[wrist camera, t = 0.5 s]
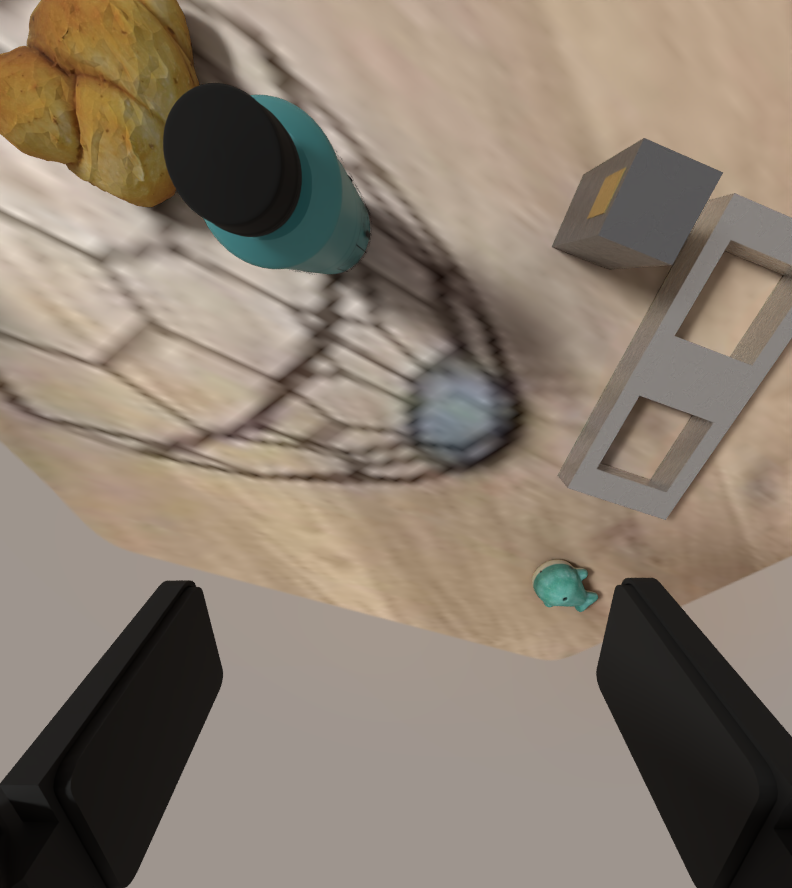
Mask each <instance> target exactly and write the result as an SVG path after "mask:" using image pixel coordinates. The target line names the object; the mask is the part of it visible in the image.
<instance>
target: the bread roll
mask: <svg viewBox="0 0 792 888" xmlns="http://www.w3.org/2000/svg"><path fill="white" fill-rule="evenodd" d="M197 86H199V81H198V79H197V76H196V73H195V69H194V61H193V53H192V44H191V40H190V35H189V30H188V27H187V24H186V19H185V16H184V14H183V12H182V10H181V8H180V6H179V4H178V2H177V1H176V0H41V1H40V2H39V4H38V5H37V7H36V8H35V9H34V11H33V12H32V14H31V16H30V22H29V35H28V39H27V46H21V47H18V48H16V49H14V50H12V51H10V52H7V53H3V54H0V134H1V135H2V136H3V137H5V138H6V139H7V140H8V141H9V142H10V143H11V144H13V145H14V146H15V147H16V148H17V149H19V150H20V151H21V152H23V153H25V154H27V155H30V156H33V157H36V158H40V159H44V160H46V161H55V162H60V163H63V164H66V165H67V167H68V168H69V170H71V171H72V172H73V173H75V174H76V175H77V176H78V177H79V178H80V179H82V180H84V181H88V182H89V183H91V184H92V185H93V186H97V187H98V188H100V189H101V190H103V191H107V192H108V193H110V194H112V195H114V196H116V197H118V198H120V199H123V200H125V201H127V202H129V203H131V204H134V205H137V206H143V207H153V206H155V205H157V204H160V203H162V202H163V201H165V200H167V199H169V198H171V197H172V196H173V195H174V194H175V192H176V188H175V186H174V185H173V183H172V180H171V178H170V176H169V173H168V170H167V167H166V163H165V159H164V152H163V134H164V127H165V123H166V120H167V117H168V114H169V112H170V111H171V109H172V107H173V105H174V104H175V103H176V101H177V100H178V99H179V98H180V97H181V96H182V95H183V94H185V93H186V92H187V91H189V90H190V89H192V88H194V87H197Z"/></svg>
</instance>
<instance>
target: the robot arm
mask: <svg viewBox="0 0 792 888" xmlns="http://www.w3.org/2000/svg"><path fill="white" fill-rule="evenodd" d="M596 673H597V674H596V675H597V682H598V685H599V688H600V690H601V692H602V695H603V697H604V699H605V701H606V703H607V705H608V707H609V709H610V711H611V713H612V715H613V717H614V719H615V722H616V724H617V725H618V728H619V730H620V732H621V734H622V736H623V738H624V740H625V742H626V744H627V746H628V748H629V750H630V752H631V755H632V757H633V759H634V761H635V763H636V765H637V767H638V769H639V771H640V773H641V775H642V777H643V780H644V782H645V784H646V786H647V788H648V790H649V792H650V794H651V796H652V798H653V800H654V802H655V804H656V806H657V809H658V811H659V813H660V815H661V817H662V819H663V821H664V823H665V825H666V827H667V829H668V831H669V833H670V835H671V838H672V840H673V842H674V844H675V846H676V848H677V850H678V852H679V854H680V856H681V858H682V860H683V862H684V864H685V867H686V869H687V871H688V873H689V875H690V877H691V879H692V881H693V882H694V884H695V886H696V887H697V888H792V737H791V735H790V734H789V733H788V732H787V731H786V730H785V729H784V727H783V726H782V725H781V724H780V723H779V721H778V720H777V719H776V718H775V717H774V716H773V714H772V713H771V712H770V711H769V710H768V709H767V707H766V706H765V705H764V704H763V703H762V702H761V700H760V699H759V698H758V697H757V696H756V694H754V692H753V691H752V690H751V689H750V688H749V686H748V685H747V684H746V683H745V682H744V680H743V679H742V678H741V677H740V676H739V675H738V673H737V672H736V671H735V670H734V669H733V668H732V667H731V665H730V664H729V663H728V662H727V661H726V660H725V658H724V657H723V656H722V655H721V654H720V653H719V651H718V650H717V649H716V648H715V647H714V645H713V644H712V643H711V642H710V641H709V639H708V638H707V637H706V636H705V635H704V634H703V633H702V631H701V630H700V629H699V628H698V627H697V625H696V624H695V623H694V622H693V621H692V620H691V619H690V617H689V616H688V615H687V614H686V613H685V611H684V610H683V609H682V608H681V607H680V606H679V604H678V603H677V602H676V601H675V600H674V599H673V597H672V596H671V595H670V594H669V593H668V591H667V590H666V589H665V588H664V587H663V586H662V584H661V583H660V582H659V581H658V580H656V579H654V578H625V579H624V580H623V582H622V585H617V586H616V588H615V591H614V595H613V599H612V604H611V608H610V613H609V617H608V621H607V626H606V630H605V635H604V639H603V644H602V648H601V653H600V657H599V661H598V666H597V671H596ZM222 679H223V669H222V665H221V661H220V657H219V654H218V649H217V646H216V642H215V638H214V634H213V630H212V626H211V622H210V618H209V614H208V610H207V606H206V602H205V599H204V594H203V591H202V589H201V588H200V587H196V585H195V583H194V582H193V581H165V582H163V583H162V584H161V585H160V586H159V587H158V588H157V590H156V591H155V592H154V593H153V595H152V596H151V597H150V598H149V599H148V601H147V602H146V603H145V604H144V606H143V607H142V608H141V609H140V611H139V612H138V613H137V614H136V616H135V617H134V618H133V619H132V621H131V622H130V623H129V624H128V625H127V627H126V628H125V629H124V630H123V632H122V633H121V634H120V635H119V637H118V638H117V639H116V640H115V642H114V643H113V644H112V645H111V647H110V648H109V649H108V650H107V652H106V653H105V654H104V655H103V656H102V658H101V659H100V660H99V661H98V663H97V664H96V665H95V666H94V668H93V669H92V670H91V671H90V673H89V674H88V675H87V676H86V678H85V679H84V680H83V681H82V683H81V684H80V685H79V686H78V688H77V689H76V690H75V691H74V693H73V694H72V695H71V696H70V697H69V699H68V700H67V701H66V702H65V704H64V705H63V706H62V707H61V709H60V710H59V711H58V713H57V714H56V715H55V716H54V717H53V719H52V720H51V721H50V722H49V724H48V725H47V726H46V727H45V728H44V730H43V731H42V732H41V733H40V735H39V736H38V737H37V738H36V740H35V741H34V742H33V743H32V745H31V746H30V747H29V748H28V750H27V751H26V752H25V753H24V755H23V756H22V757H21V758H20V760H19V761H18V762H17V763H16V764H15V766H14V767H13V768H12V770H11V771H10V772H9V773H8V775H7V776H6V777H5V778H4V779H3V781H2V782H1V783H0V888H125V887H127V886H128V885H129V884H130V883H131V882H132V880H133V879H134V877H135V875H136V873H137V871H138V869H139V867H140V865H141V862H142V860H143V858H144V856H145V854H146V851H147V849H148V847H149V845H150V842H151V840H152V838H153V836H154V834H155V831H156V829H157V827H158V825H159V823H160V820H161V818H162V816H163V814H164V812H165V809H166V807H167V805H168V803H169V800H170V798H171V796H172V794H173V792H174V789H175V787H176V785H177V783H178V780H179V778H180V776H181V774H182V771H183V770H184V767H185V765H186V763H187V761H188V758H189V756H190V754H191V752H192V750H193V747H194V745H195V743H196V741H197V739H198V736H199V734H200V732H201V730H202V728H203V725H204V723H205V721H206V719H207V716H208V714H209V712H210V710H211V708H212V705H213V703H214V701H215V699H216V696H217V694H218V692H219V690H220V687H221V684H222Z"/></svg>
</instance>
